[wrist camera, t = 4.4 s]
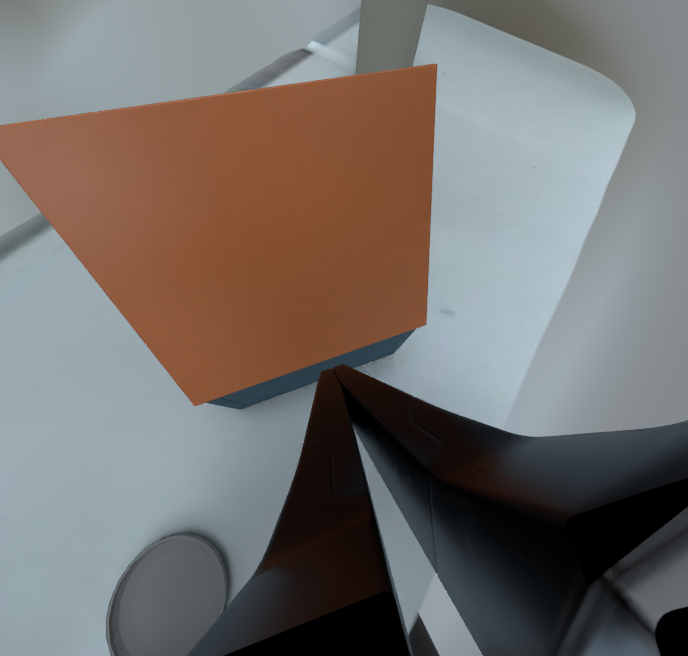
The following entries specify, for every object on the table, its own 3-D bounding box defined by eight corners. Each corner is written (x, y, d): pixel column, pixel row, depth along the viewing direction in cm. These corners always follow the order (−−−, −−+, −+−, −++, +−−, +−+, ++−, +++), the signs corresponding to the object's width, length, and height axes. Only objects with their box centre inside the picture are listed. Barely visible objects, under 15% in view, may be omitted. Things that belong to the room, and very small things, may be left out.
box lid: (-3, 131, 7) (-26, 128, 7) (424, 69, 10) (437, 63, 9) (196, 395, 14) (194, 406, 13) (419, 318, 16) (426, 325, 16)
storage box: (213, 296, 24) (171, 248, 17) (350, 258, 26) (358, 203, 20) (239, 409, 20) (199, 401, 14) (394, 353, 23) (420, 324, 16)
